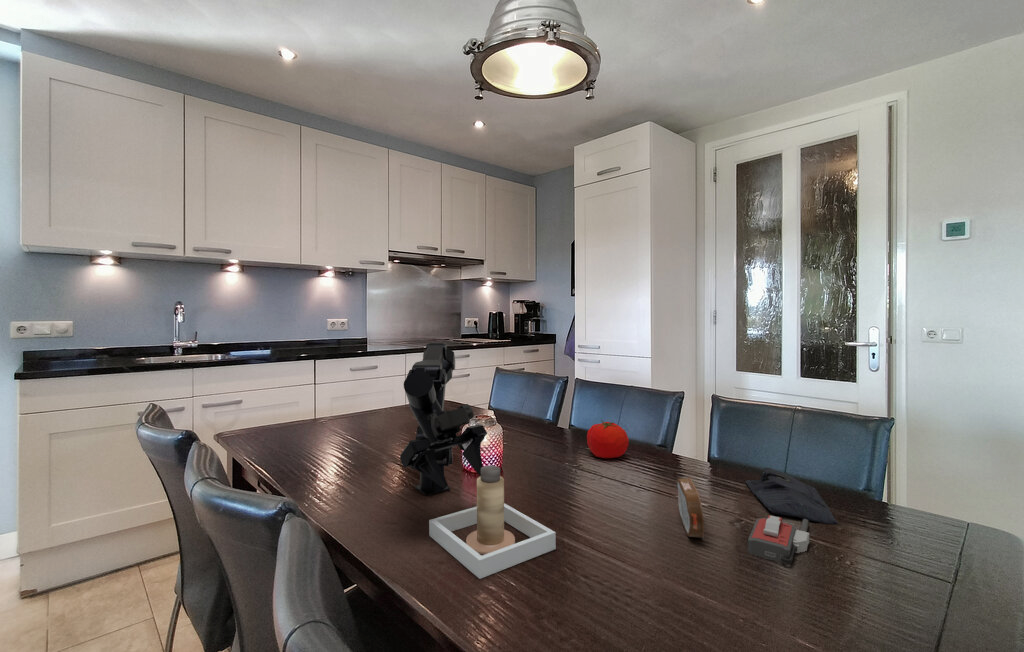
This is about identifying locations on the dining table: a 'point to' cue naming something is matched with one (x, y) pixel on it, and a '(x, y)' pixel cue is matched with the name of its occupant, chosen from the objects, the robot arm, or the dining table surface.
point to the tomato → (607, 440)
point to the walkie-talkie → (777, 539)
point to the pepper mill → (490, 506)
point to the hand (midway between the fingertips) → (464, 481)
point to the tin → (690, 508)
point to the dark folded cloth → (790, 497)
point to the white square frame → (496, 554)
